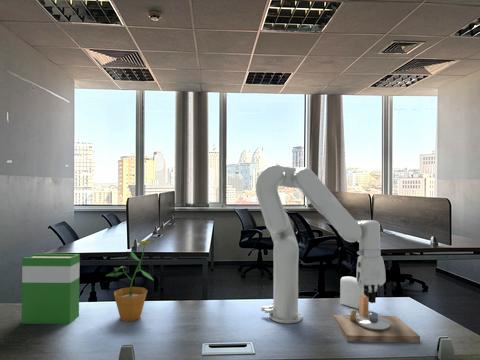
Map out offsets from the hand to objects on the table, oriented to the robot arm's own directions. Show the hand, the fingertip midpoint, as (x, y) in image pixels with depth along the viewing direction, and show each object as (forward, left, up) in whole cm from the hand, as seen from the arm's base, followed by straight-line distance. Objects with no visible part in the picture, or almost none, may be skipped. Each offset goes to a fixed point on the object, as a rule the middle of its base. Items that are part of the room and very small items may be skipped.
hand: (371, 301), depth 132 cm
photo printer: (-2, +18, -8) cm, 20 cm away
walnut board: (-2, -7, -8) cm, 11 cm away
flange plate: (-2, -6, -6) cm, 8 cm away
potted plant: (-92, +2, -8) cm, 92 cm away
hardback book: (-121, -1, -8) cm, 121 cm away
